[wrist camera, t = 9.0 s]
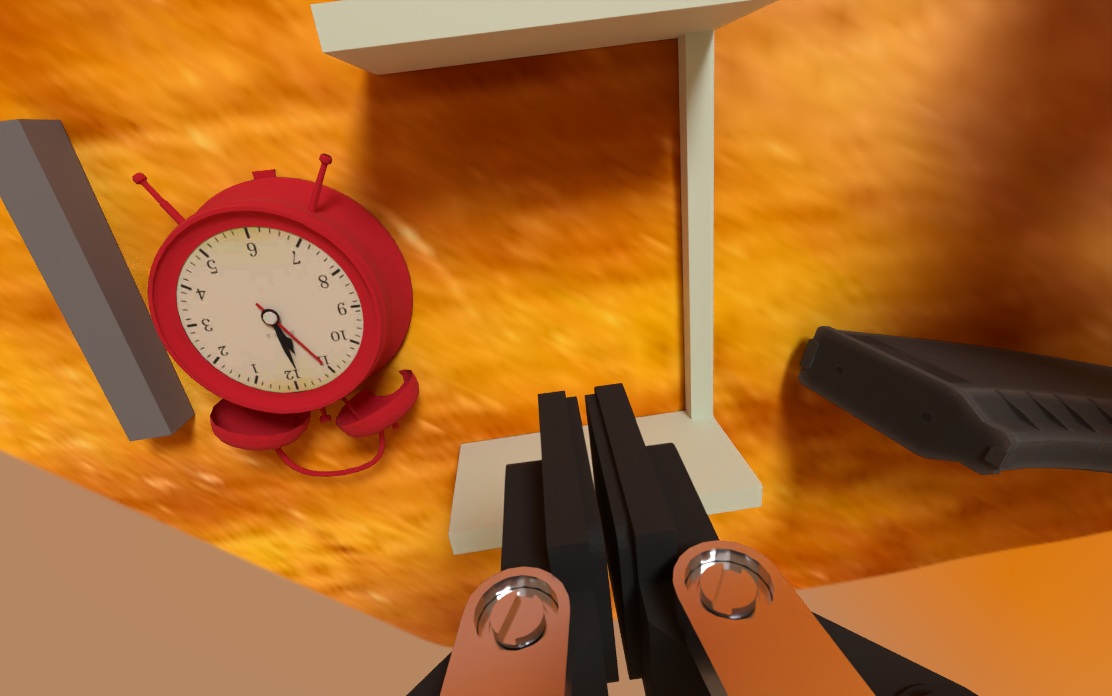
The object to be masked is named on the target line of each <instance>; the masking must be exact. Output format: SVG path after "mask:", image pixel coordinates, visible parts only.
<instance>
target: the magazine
mask: <svg viewBox="0 0 1112 696" xmlns="http://www.w3.org/2000/svg"><path fill="white" fill-rule="evenodd" d="M800 366H802V369H801V371H800V374H799V376H798V379H799V382H800V383H801V384H803V385H805V386H806V387H808V388H809V389H811V390H813V391H814V392H816V393H818V394H819V395H821V396H822V397H824V398H826V399H827V400H829V401H831V402H832V403H834V404H835V405H837V406H839V407H840V408H842V409H843V410H845V411H847V412H848V413H850V414H852V415H853V416H855V417H856V418H858V419H860V420H861V421H863V422H865V423H866V424H868V425H869V426H871V427H873V428H874V429H876V430H878V431H879V432H881V433H882V434H884V435H886V436H887V437H889V438H891V439H892V440H894V441H895V442H897V443H899V444H900V445H902V446H903V447H905V448H907V449H908V450H910V451H912V452H913V453H915V454H916V455H919V456H922V457H925V458H927V459H937V460H946V461H955V462H960V463H962V464H963V465H965V466H967V467H968V468H970V469H972V470H974V471H975V472H977V473H979V474H980V475H988V474H999V473H1000V472H1001V471H1002V470H1013V469H1024V468H1059V469H1077V470H1078V469H1079V470H1088V471H1098V472H1108V473H1112V367H1107V366H1101V365H1096V364H1090V363H1085V362H1079V361H1073V360H1067V359H1062V358H1056V357H1049V356H1043V355H1037V354H1030V353H1024V352H1017V351H1010V350H1004V349H997V348H990V347H982V346H975V345H967V344H959V343H951V342H943V341H935V340H926V339H917V338H908V337H898V336H889V335H880V334H870V333H861V332H852V331H843V330H836V329H834V328H831V327H829V326H821V327H818V328H817V331H816V333H815V336H814V338H813V339H810V340H809V342H808V345H807V347H806V350H805V352H804V355H803V357H802V360H801V363H800Z"/></svg>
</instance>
